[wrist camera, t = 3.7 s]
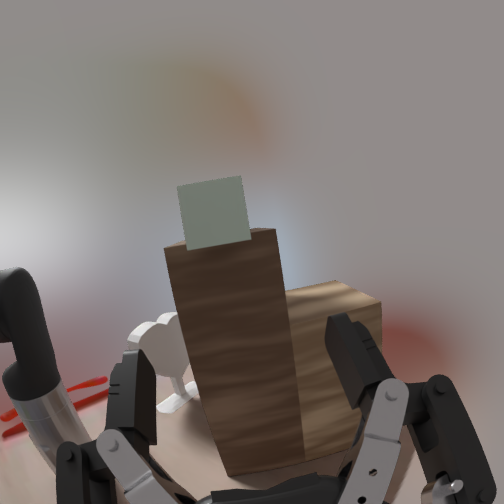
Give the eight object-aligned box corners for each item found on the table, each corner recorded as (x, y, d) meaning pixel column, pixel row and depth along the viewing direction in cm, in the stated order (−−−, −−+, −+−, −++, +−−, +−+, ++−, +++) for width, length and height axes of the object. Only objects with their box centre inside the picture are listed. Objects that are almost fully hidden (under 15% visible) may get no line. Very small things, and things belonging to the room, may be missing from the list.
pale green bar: (251, 239, 18) (240, 175, 17) (187, 250, 17) (176, 186, 17) (232, 231, 44) (228, 205, 43) (206, 236, 43) (202, 210, 43)
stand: (376, 437, 32) (372, 213, 29) (228, 476, 30) (163, 248, 27) (342, 393, 46) (327, 216, 43) (224, 421, 44) (182, 240, 41)
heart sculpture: (196, 377, 62) (177, 306, 60) (212, 381, 59) (194, 307, 57) (149, 410, 49) (121, 331, 47) (165, 418, 46) (136, 334, 44)
